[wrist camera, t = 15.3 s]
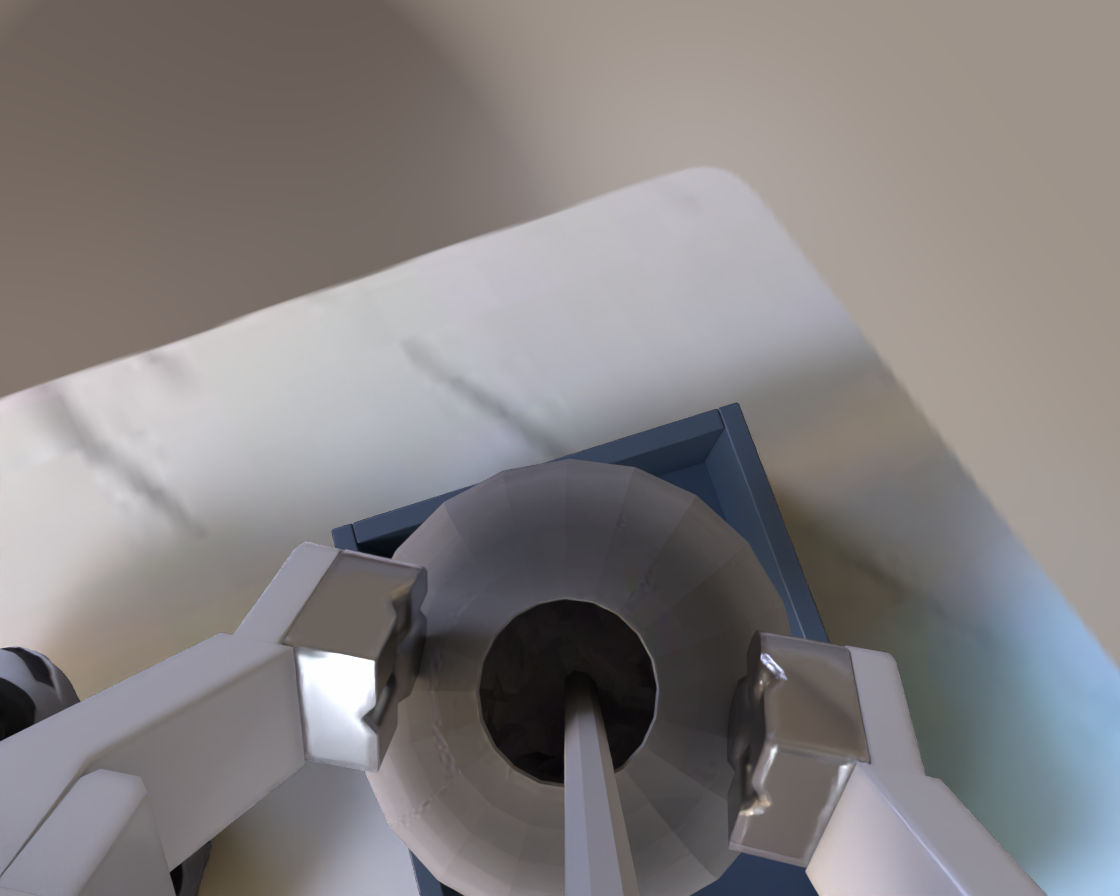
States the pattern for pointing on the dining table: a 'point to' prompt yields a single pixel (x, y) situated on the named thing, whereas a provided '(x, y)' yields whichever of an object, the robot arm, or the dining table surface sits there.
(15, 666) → the lucky cat figurine
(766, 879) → the blue open storage box
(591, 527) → the beverage cup
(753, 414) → the dining table surface
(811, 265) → the dining table surface
